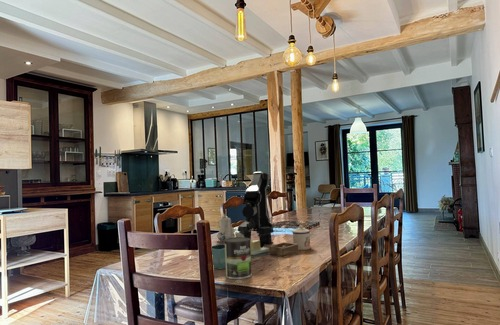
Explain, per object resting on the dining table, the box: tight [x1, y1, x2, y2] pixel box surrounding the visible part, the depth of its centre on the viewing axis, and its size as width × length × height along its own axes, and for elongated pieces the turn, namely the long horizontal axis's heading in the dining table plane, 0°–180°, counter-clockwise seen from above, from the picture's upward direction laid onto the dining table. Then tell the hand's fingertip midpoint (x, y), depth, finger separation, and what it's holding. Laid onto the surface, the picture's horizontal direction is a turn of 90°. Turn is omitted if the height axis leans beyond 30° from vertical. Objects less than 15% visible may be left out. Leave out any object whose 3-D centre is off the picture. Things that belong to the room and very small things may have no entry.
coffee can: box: [223, 236, 253, 280], centre depth 131 cm, size 10×10×14 cm
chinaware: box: [216, 213, 244, 242], centre depth 206 cm, size 28×17×17 cm, turn 34°
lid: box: [250, 239, 270, 255], centre depth 166 cm, size 9×11×6 cm
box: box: [268, 241, 299, 258], centre depth 164 cm, size 9×11×4 cm
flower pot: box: [211, 243, 226, 270], centre depth 144 cm, size 9×9×9 cm
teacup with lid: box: [291, 225, 311, 251], centre depth 175 cm, size 12×9×12 cm
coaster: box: [251, 250, 271, 259], centre depth 166 cm, size 12×12×1 cm
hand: (255, 246), depth 166 cm, fingers open, 9 cm apart
